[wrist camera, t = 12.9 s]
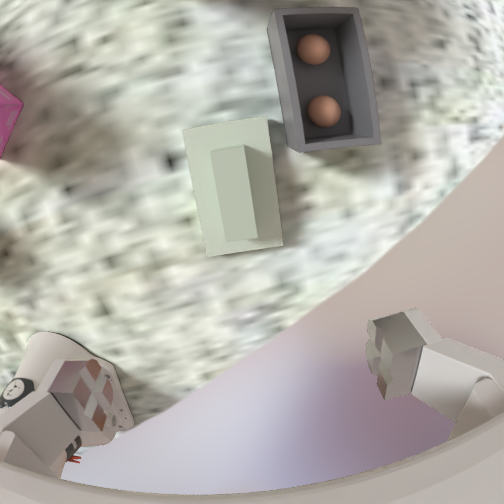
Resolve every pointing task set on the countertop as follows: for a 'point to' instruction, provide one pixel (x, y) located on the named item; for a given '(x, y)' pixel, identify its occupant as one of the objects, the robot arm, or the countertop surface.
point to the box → (324, 77)
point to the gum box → (7, 115)
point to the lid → (234, 185)
